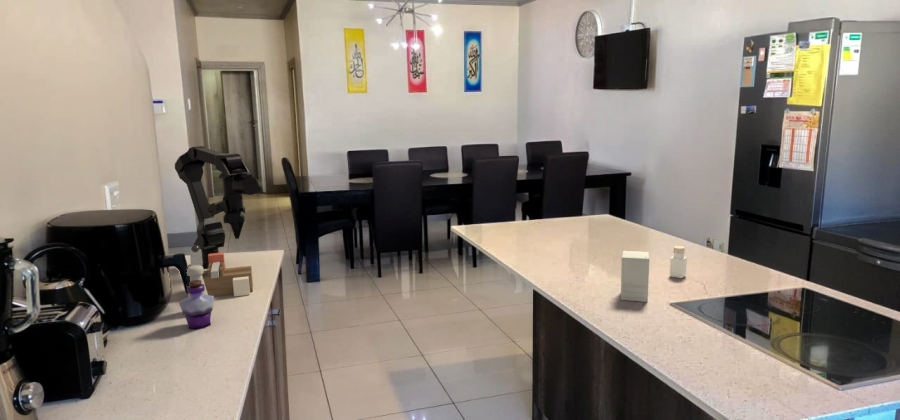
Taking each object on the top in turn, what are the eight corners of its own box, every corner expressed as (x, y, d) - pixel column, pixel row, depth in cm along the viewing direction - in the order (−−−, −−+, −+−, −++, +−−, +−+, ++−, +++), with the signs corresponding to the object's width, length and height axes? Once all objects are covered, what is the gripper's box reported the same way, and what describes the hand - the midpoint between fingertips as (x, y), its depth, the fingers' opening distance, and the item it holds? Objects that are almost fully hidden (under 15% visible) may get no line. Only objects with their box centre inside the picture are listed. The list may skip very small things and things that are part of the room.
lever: (192, 278, 171) (189, 245, 173) (203, 277, 172) (201, 244, 174) (191, 277, 169) (188, 244, 170) (202, 276, 170) (200, 243, 171)
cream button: (234, 293, 174) (232, 278, 173) (249, 292, 175) (248, 276, 174) (234, 296, 172) (232, 280, 171) (249, 294, 173) (248, 278, 172)
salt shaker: (202, 315, 157) (197, 269, 154) (183, 314, 158) (178, 269, 156) (214, 308, 163) (210, 263, 160) (196, 307, 164) (191, 262, 161)
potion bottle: (191, 319, 155) (186, 276, 152) (223, 318, 154) (218, 275, 152) (175, 332, 146) (169, 286, 144) (208, 331, 146) (204, 286, 144)
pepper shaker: (686, 276, 182) (688, 246, 180) (681, 279, 179) (683, 249, 177) (673, 273, 185) (675, 244, 183) (668, 276, 182) (670, 247, 180)
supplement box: (647, 294, 167) (649, 251, 164) (647, 302, 160) (649, 258, 157) (621, 291, 169) (622, 249, 167) (619, 300, 162) (621, 256, 160)
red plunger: (210, 272, 181) (208, 253, 180) (225, 270, 182) (223, 252, 181) (207, 284, 169) (205, 264, 168) (223, 282, 170) (221, 263, 169)
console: (191, 291, 178) (188, 265, 176) (252, 284, 183) (250, 259, 182) (188, 299, 170) (185, 272, 169) (252, 291, 176) (250, 265, 174)
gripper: (208, 190, 196) (213, 234, 199) (204, 198, 179) (209, 247, 182) (243, 187, 199) (247, 231, 202) (242, 196, 182) (246, 244, 185)
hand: (237, 238), depth 193 cm, fingers closed
